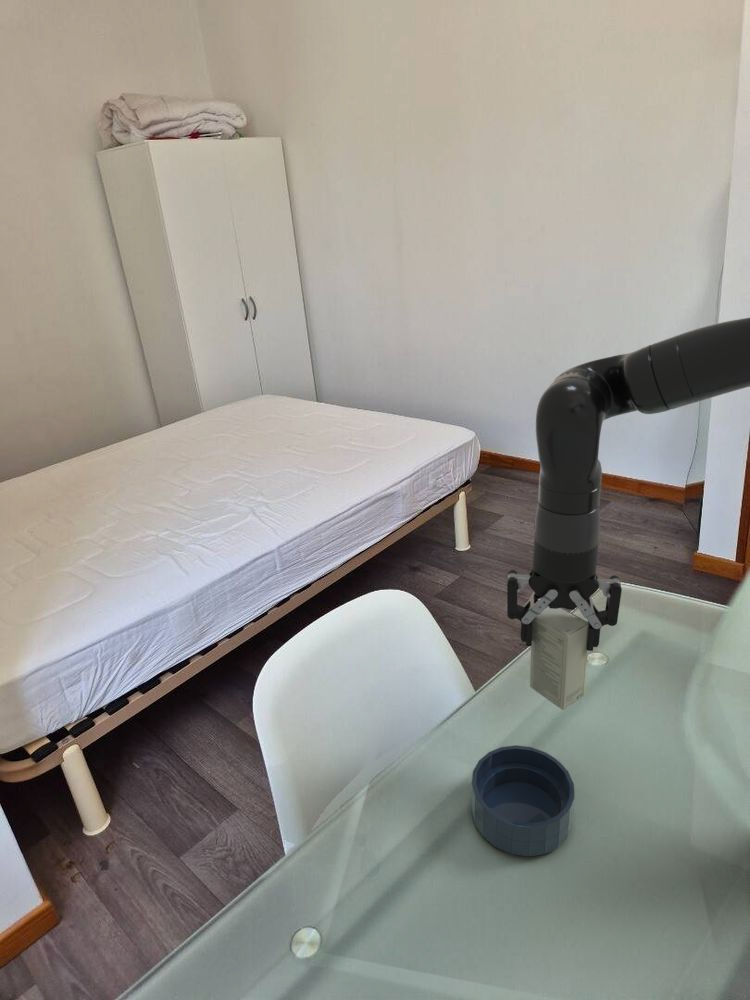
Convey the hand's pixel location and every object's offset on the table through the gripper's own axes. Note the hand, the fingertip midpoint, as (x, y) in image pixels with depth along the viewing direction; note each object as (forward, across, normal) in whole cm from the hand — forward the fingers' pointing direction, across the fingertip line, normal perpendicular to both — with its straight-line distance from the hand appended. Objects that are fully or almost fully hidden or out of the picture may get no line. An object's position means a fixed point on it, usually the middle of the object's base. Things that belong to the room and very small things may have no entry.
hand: (558, 644), depth 90 cm
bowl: (+23, -4, -9) cm, 25 cm away
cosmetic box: (+8, 0, 0) cm, 8 cm away
